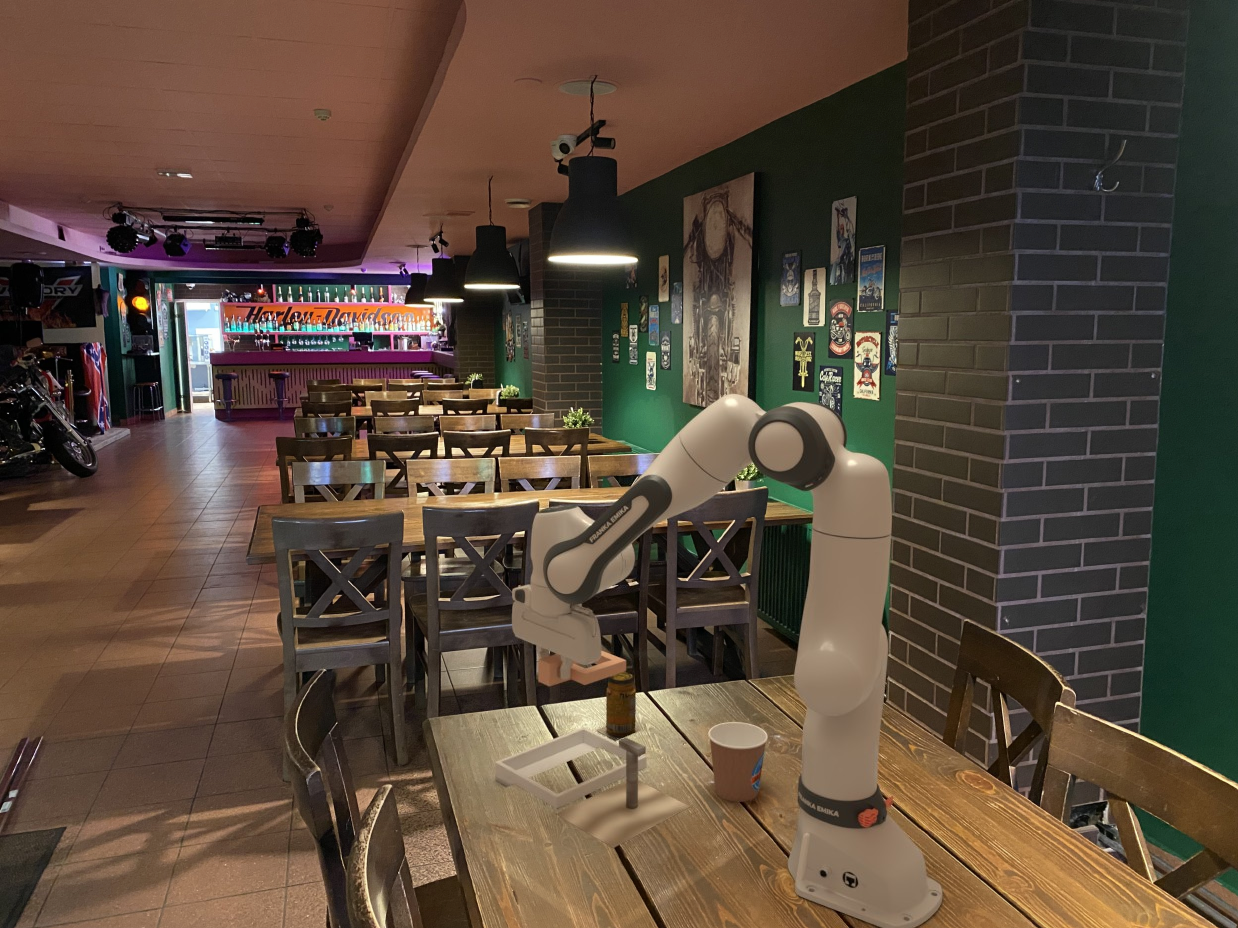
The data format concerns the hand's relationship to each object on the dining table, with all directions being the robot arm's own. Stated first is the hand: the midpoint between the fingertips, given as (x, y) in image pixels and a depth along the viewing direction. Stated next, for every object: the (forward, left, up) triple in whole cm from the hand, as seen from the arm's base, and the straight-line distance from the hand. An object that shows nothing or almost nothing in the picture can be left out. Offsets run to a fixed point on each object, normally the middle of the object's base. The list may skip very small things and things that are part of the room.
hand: (555, 674), depth 154 cm
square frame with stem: (0, -5, -1) cm, 5 cm away
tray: (+3, -6, -22) cm, 23 cm away
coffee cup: (-23, -22, -23) cm, 39 cm away
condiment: (+10, -26, -23) cm, 36 cm away
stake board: (-14, -3, -22) cm, 27 cm away
